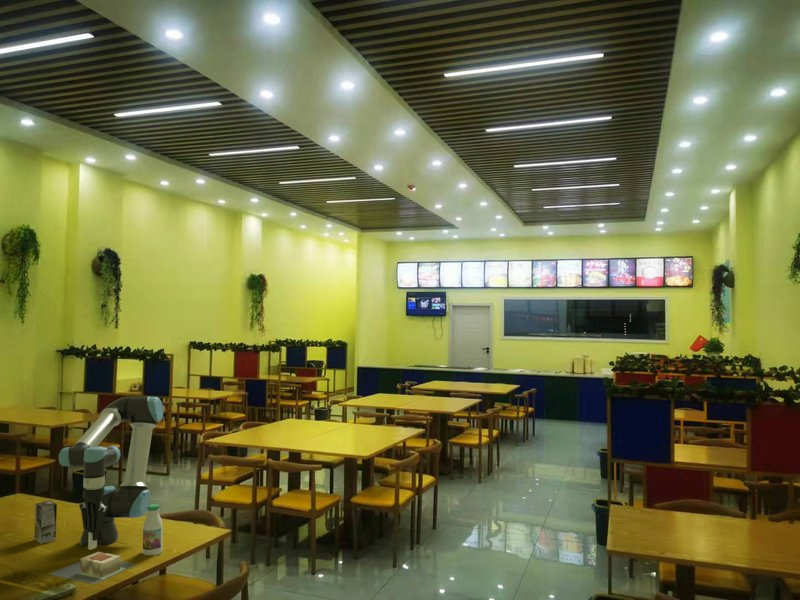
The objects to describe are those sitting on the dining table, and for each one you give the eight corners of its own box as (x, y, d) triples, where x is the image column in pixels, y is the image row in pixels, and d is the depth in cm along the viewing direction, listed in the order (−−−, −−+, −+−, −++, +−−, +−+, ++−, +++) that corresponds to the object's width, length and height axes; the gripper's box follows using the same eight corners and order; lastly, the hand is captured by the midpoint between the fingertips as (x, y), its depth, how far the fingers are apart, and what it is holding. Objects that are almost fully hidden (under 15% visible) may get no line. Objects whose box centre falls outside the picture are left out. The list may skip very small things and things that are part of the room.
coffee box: (56, 540, 267) (57, 503, 267) (40, 544, 262) (41, 507, 263) (49, 535, 273) (50, 499, 274) (33, 539, 268) (34, 502, 269)
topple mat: (48, 576, 228) (48, 574, 228) (93, 557, 246) (93, 555, 246) (94, 586, 219) (94, 584, 219) (137, 566, 237) (137, 564, 237)
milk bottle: (146, 550, 255) (147, 502, 256) (164, 549, 255) (165, 502, 256) (139, 557, 247) (140, 508, 248) (158, 556, 248) (159, 507, 249)
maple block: (80, 558, 230) (103, 563, 225) (98, 551, 237) (120, 555, 233) (80, 572, 230) (102, 576, 225) (97, 564, 237) (120, 569, 233)
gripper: (73, 487, 234) (72, 549, 232) (97, 491, 229) (96, 554, 227) (90, 483, 240) (88, 542, 239) (114, 486, 235) (112, 547, 234)
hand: (92, 548), depth 233 cm, fingers closed
